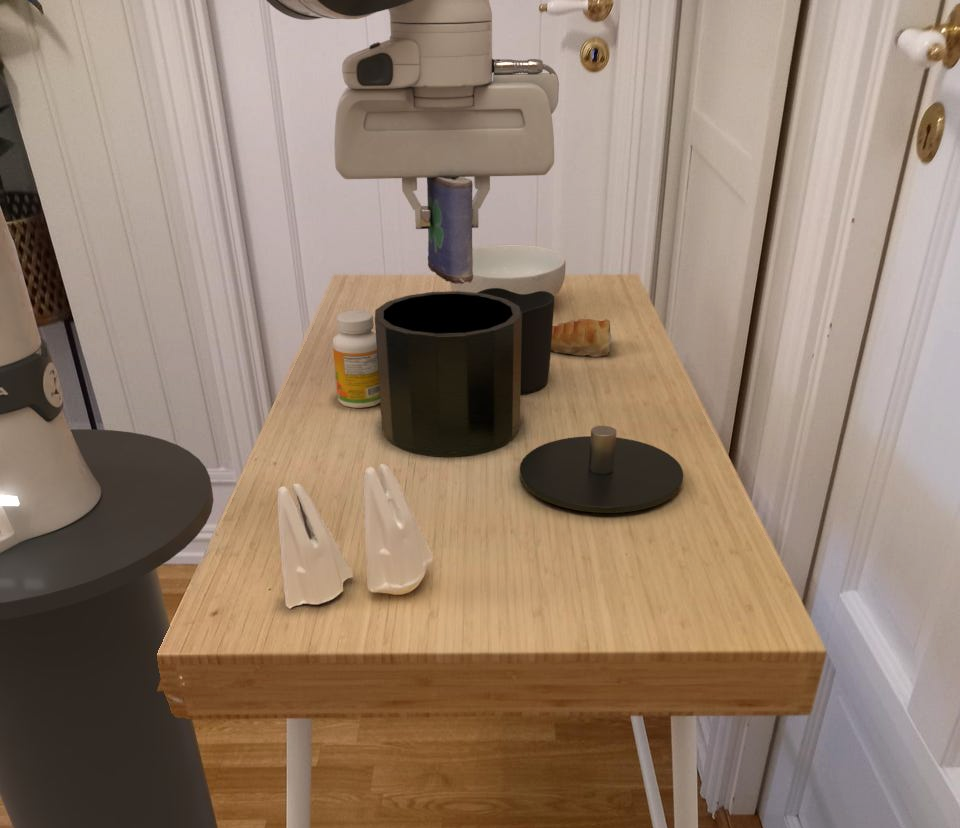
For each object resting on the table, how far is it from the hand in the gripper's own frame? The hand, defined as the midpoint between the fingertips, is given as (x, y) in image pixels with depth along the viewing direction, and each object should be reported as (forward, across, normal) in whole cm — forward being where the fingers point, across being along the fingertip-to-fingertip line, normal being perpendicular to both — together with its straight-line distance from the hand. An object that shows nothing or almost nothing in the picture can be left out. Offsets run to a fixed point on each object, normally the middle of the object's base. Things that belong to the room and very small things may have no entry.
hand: (446, 227), depth 93 cm
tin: (+21, 0, 0) cm, 21 cm away
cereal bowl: (+21, -10, -42) cm, 48 cm away
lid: (+20, -14, +14) cm, 28 cm away
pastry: (+21, -18, -24) cm, 37 cm away
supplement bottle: (+21, +10, -9) cm, 25 cm away
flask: (+4, 0, 0) cm, 4 cm away
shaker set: (+21, +9, +32) cm, 39 cm away
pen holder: (+21, -8, -14) cm, 26 cm away
